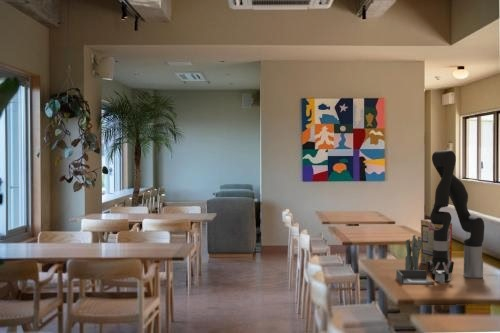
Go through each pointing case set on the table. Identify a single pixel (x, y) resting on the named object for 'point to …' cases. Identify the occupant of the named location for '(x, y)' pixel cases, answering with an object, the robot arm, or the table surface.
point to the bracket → (412, 261)
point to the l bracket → (441, 276)
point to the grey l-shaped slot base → (413, 277)
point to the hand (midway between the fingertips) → (439, 280)
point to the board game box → (427, 241)
